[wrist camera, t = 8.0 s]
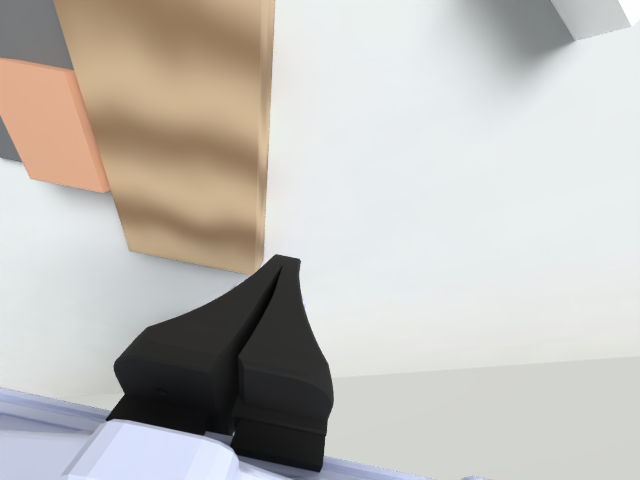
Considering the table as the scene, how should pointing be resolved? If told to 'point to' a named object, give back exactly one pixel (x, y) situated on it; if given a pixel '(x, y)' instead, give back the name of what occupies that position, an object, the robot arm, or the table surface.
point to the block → (50, 125)
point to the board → (180, 120)
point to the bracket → (597, 15)
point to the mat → (30, 45)
